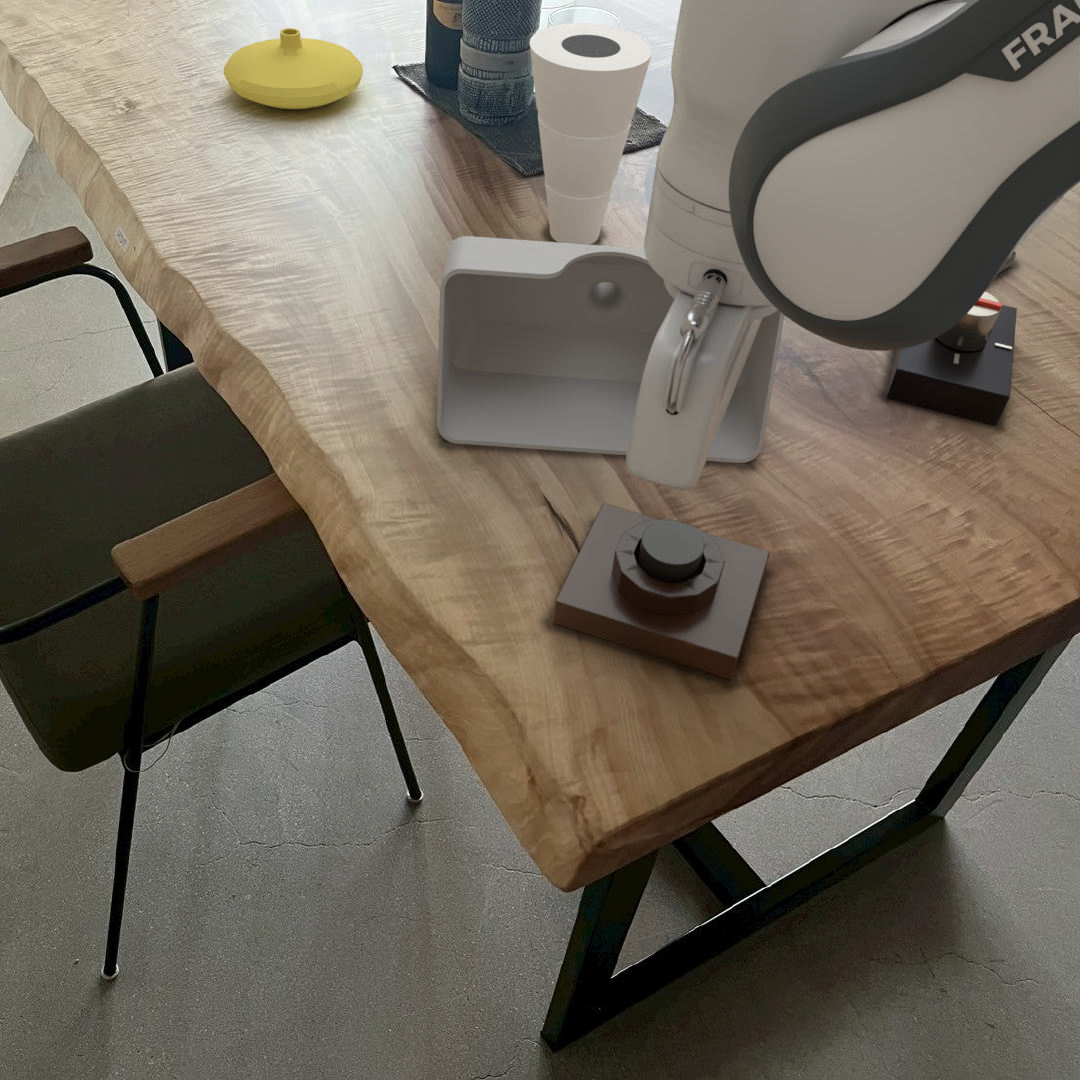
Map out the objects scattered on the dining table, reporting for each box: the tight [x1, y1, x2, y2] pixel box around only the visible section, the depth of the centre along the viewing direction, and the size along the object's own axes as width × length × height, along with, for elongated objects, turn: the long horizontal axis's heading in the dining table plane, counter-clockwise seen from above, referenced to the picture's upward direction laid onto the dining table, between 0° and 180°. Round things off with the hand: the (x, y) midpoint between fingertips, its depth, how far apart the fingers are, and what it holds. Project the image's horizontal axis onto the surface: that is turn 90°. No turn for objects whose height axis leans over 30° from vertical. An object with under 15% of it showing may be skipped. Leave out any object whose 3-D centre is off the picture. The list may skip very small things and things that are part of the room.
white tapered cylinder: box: [529, 22, 653, 245], centre depth 97 cm, size 11×11×18 cm
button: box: [639, 519, 704, 583], centre depth 67 cm, size 4×4×2 cm
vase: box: [223, 27, 364, 110], centre depth 120 cm, size 16×16×7 cm
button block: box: [553, 502, 771, 680], centre depth 69 cm, size 12×10×4 cm
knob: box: [936, 291, 1003, 351], centre depth 88 cm, size 4×4×4 cm
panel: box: [886, 304, 1018, 426], centre depth 90 cm, size 14×9×3 cm, turn 160°
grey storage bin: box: [436, 235, 786, 464], centre depth 82 cm, size 25×16×12 cm, turn 88°
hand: (690, 443), depth 61 cm, fingers closed
